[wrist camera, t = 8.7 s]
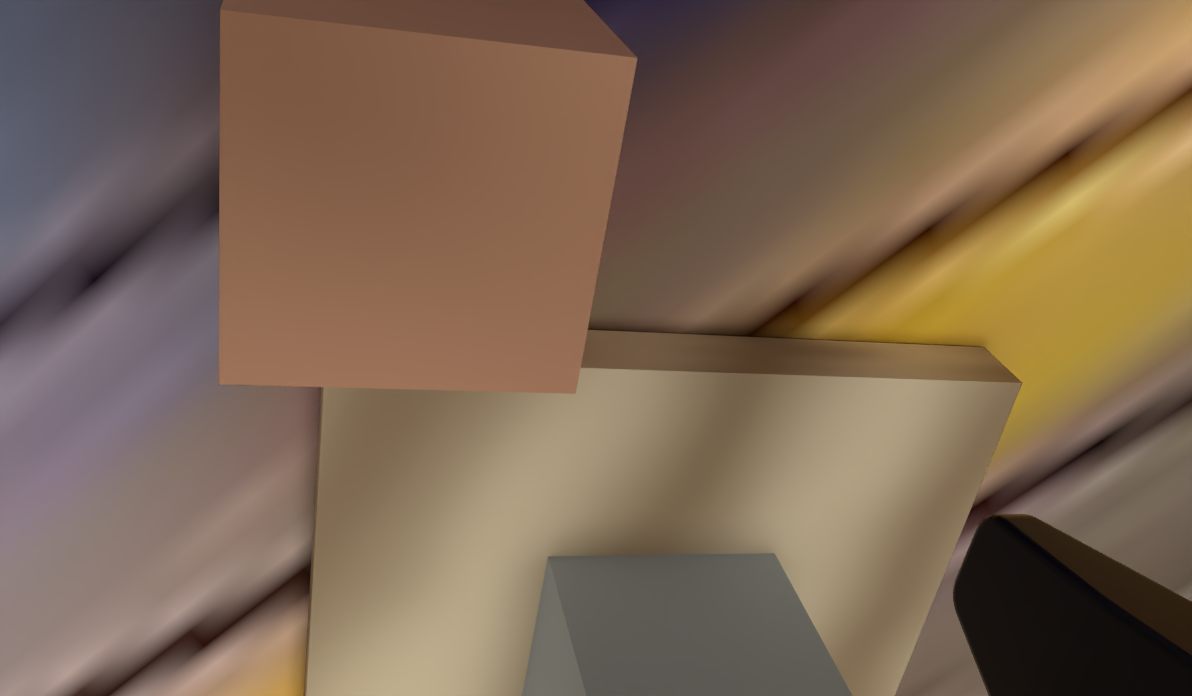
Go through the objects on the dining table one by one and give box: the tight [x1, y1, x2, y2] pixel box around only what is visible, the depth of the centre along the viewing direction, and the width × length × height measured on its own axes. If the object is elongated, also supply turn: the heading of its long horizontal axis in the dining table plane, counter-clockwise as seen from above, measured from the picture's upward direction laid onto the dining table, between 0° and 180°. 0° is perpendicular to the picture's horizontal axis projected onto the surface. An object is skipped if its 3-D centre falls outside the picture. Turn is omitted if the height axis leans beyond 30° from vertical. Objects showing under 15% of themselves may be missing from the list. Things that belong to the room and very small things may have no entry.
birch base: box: [304, 330, 1022, 696], centre depth 24 cm, size 14×14×2 cm
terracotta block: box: [219, 0, 637, 394], centre depth 16 cm, size 5×5×5 cm
